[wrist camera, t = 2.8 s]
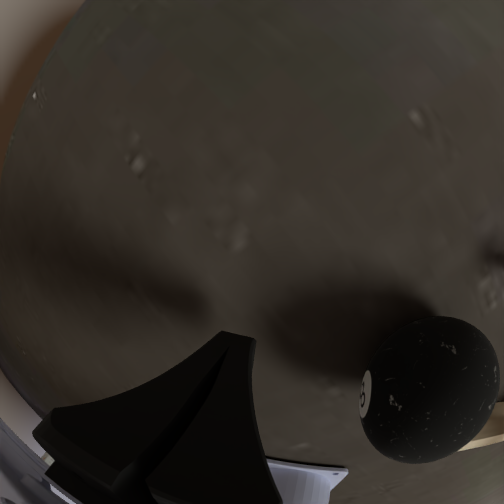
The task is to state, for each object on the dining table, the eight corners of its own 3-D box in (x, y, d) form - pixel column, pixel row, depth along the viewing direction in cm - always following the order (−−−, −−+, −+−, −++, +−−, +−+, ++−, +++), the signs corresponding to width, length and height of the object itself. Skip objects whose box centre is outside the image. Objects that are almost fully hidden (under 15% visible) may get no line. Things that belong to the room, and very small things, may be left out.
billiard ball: (444, 385, 11) (468, 471, 6) (346, 390, 12) (343, 490, 7) (482, 291, 9) (547, 374, 4) (368, 289, 10) (395, 403, 5)
